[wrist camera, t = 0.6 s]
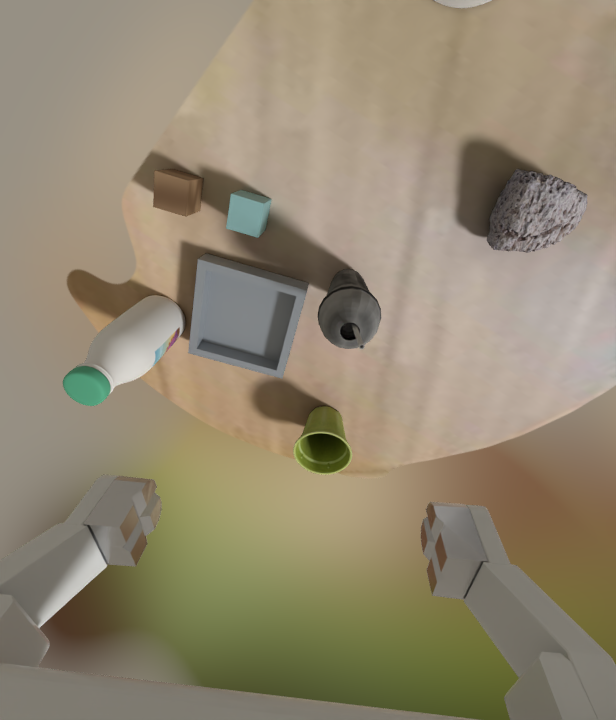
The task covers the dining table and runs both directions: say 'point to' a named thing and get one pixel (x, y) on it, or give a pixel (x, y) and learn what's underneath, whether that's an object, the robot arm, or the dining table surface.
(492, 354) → the dining table surface
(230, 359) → the tray
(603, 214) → the dining table surface
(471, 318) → the dining table surface
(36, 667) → the robot arm
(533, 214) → the pumice stone
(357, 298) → the beverage cup
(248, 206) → the teal block
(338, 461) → the plant pot
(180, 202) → the walnut block
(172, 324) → the milk bottle
